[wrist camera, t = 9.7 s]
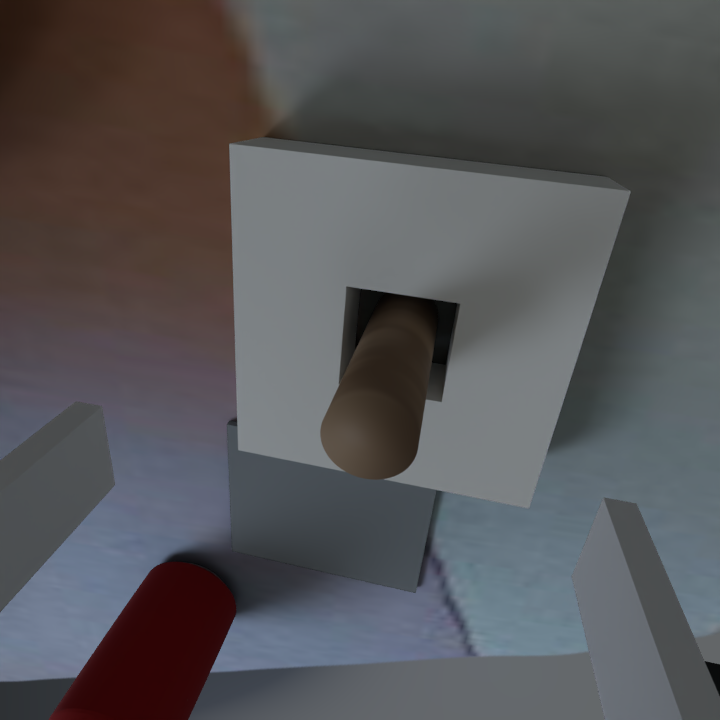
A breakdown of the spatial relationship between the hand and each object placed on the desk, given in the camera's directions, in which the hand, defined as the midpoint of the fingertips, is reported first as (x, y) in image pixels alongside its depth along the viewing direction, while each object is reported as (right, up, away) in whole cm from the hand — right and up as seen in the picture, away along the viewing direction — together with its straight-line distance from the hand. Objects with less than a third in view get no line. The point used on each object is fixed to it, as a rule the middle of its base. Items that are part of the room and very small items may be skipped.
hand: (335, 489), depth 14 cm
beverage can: (-11, -13, +23) cm, 29 cm away
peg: (+3, +5, +11) cm, 12 cm away
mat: (-1, -5, +17) cm, 18 cm away
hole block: (+3, +6, +11) cm, 12 cm away
